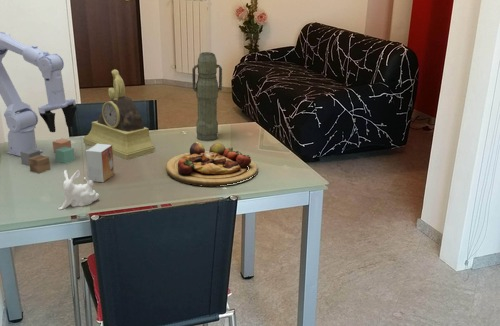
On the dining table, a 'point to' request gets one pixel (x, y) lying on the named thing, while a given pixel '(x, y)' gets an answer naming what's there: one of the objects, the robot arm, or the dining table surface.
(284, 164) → the dining table surface
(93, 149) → the small box
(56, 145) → the terracotta block
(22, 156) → the charcoal block
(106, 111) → the decorative clock
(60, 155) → the green block
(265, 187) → the dining table surface
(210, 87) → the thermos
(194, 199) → the dining table surface
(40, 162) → the walnut block
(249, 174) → the wooden plate with food
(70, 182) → the rabbit figurine
